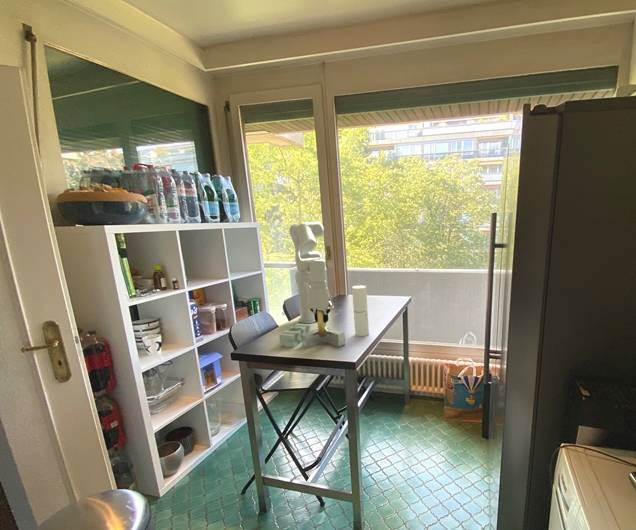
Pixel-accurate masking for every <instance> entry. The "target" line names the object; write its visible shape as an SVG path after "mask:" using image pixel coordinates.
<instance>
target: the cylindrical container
mask: <svg viewBox="0 0 636 530" xmlns="http://www.w3.org/2000/svg"><path fill="white" fill-rule="evenodd" d="M351 291H352V293H351V294H352V303H353V304H352V305H353V318H354V319H353V320H354V321H353V322H354V333H355V334H354V335H355V336H357V337H367V336H368V335H370V328H369V327H370V325H369V313H368V297H367V286H366V285H353V286H352V287H351Z"/></svg>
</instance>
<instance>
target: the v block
mask: <svg viewBox="0 0 636 530" xmlns="http://www.w3.org/2000/svg"><path fill="white" fill-rule="evenodd" d="M326 330H327V336H326V337H319V332H318V328H315V329H313V330H311V331H309V332H306V333H303V334H301V341H302V342H301V346H302V347H303V348H305V347H306V348H305V349H308V348H311V347H313V346H316V345H319V344H321V343H328V344H330V345H332V346H335V347H339V348H340V347H342V346H344V345H346V338H345V337H346V336H345V332H344V331H341V330H338V329H334V328H330V327H326Z"/></svg>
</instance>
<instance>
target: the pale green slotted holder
mask: <svg viewBox="0 0 636 530" xmlns="http://www.w3.org/2000/svg"><path fill="white" fill-rule="evenodd" d="M309 331H312V330H311V323H296V324H294V325H292V326H291V327H289V328H288V329H286V330H284V331H283V332H281V333H280V334H279V335H278V336H279V343H280V344H279V345H280V347H283V346H285V348H293V347H295V348H296V347H298V344H299V345H300V344H302V341H301V334H303V333H306V332H309Z"/></svg>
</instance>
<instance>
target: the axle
mask: <svg viewBox="0 0 636 530" xmlns="http://www.w3.org/2000/svg"><path fill="white" fill-rule="evenodd" d="M317 321H318V322H317V329H318V332H319V337H326V336H327V330H326V328H327V322H326V323H324V310H323V309H318V310H317Z"/></svg>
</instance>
